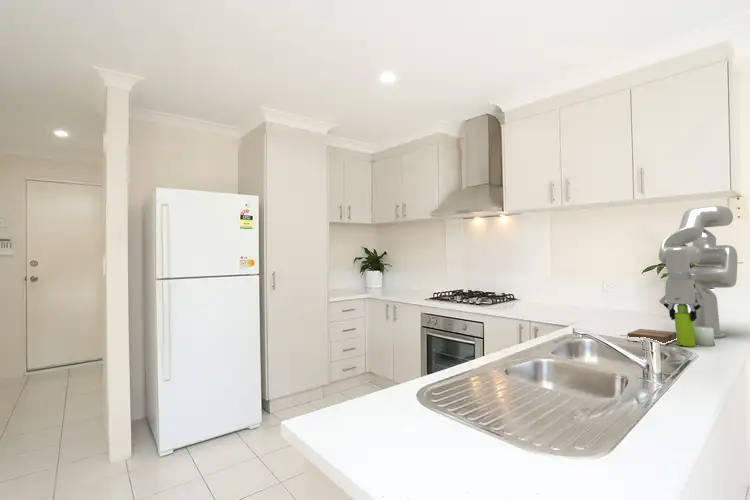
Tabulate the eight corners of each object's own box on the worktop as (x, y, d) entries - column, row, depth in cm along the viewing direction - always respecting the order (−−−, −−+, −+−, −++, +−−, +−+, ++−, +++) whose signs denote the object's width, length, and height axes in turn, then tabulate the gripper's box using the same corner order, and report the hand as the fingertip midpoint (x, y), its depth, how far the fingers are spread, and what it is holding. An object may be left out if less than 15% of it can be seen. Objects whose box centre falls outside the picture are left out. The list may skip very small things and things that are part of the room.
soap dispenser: (672, 345, 158) (668, 297, 158) (682, 342, 161) (677, 295, 161) (689, 347, 152) (684, 298, 153) (698, 344, 155) (693, 296, 156)
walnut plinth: (640, 336, 179) (639, 328, 179) (676, 340, 167) (676, 332, 168) (628, 341, 171) (627, 333, 171) (665, 345, 159) (664, 337, 159)
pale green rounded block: (695, 342, 162) (694, 325, 163) (716, 344, 157) (715, 327, 157) (690, 344, 158) (688, 328, 159) (712, 347, 153) (710, 329, 153)
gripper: (708, 276, 153) (712, 320, 152) (658, 276, 167) (661, 317, 166) (702, 277, 148) (707, 323, 148) (651, 277, 162) (655, 319, 162)
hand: (683, 319), depth 157 cm, fingers closed on soap dispenser, 5 cm apart
